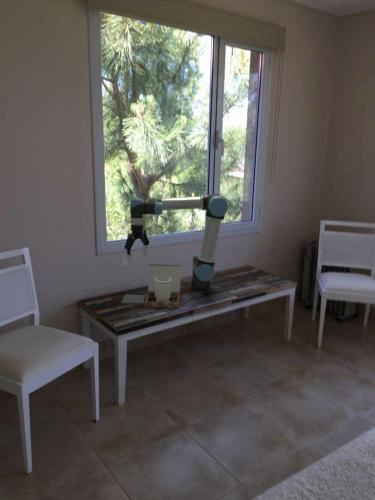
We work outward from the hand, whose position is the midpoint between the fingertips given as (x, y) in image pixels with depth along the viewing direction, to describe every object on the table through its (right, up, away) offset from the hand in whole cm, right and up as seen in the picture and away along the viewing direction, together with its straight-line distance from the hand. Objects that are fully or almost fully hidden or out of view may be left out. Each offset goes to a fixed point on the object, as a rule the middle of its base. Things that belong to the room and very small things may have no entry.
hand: (137, 257), depth 259 cm
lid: (+17, -13, +3) cm, 22 cm away
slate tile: (-2, -26, -3) cm, 26 cm away
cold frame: (+16, -27, -4) cm, 32 cm away
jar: (+16, -28, -4) cm, 32 cm away
